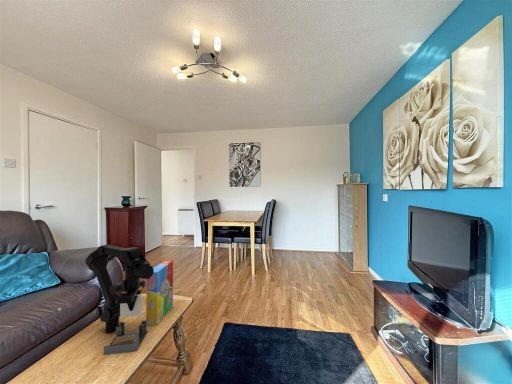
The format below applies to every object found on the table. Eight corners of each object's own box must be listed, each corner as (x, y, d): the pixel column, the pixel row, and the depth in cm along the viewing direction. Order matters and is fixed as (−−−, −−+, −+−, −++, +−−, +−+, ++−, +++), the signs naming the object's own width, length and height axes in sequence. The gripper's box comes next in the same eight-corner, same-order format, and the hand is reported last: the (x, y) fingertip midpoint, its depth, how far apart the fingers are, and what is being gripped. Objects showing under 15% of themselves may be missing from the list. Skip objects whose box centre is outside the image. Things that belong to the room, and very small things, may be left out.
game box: (156, 328, 110) (156, 272, 110) (145, 327, 110) (145, 272, 110) (173, 306, 131) (173, 260, 131) (163, 306, 131) (164, 260, 131)
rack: (118, 335, 104) (118, 322, 104) (148, 332, 106) (148, 320, 106) (102, 357, 90) (102, 342, 90) (137, 353, 92) (137, 338, 92)
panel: (121, 315, 103) (121, 295, 103) (142, 313, 105) (142, 294, 105) (120, 317, 102) (120, 297, 102) (141, 315, 103) (141, 295, 103)
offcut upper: (116, 341, 95) (116, 337, 95) (135, 338, 97) (135, 334, 97) (113, 346, 92) (113, 342, 92) (132, 343, 94) (132, 339, 94)
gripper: (122, 270, 112) (121, 301, 111) (102, 284, 93) (102, 322, 93) (145, 268, 113) (145, 300, 113) (131, 283, 95) (131, 320, 95)
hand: (131, 309), depth 103 cm, fingers closed on panel, 1 cm apart
